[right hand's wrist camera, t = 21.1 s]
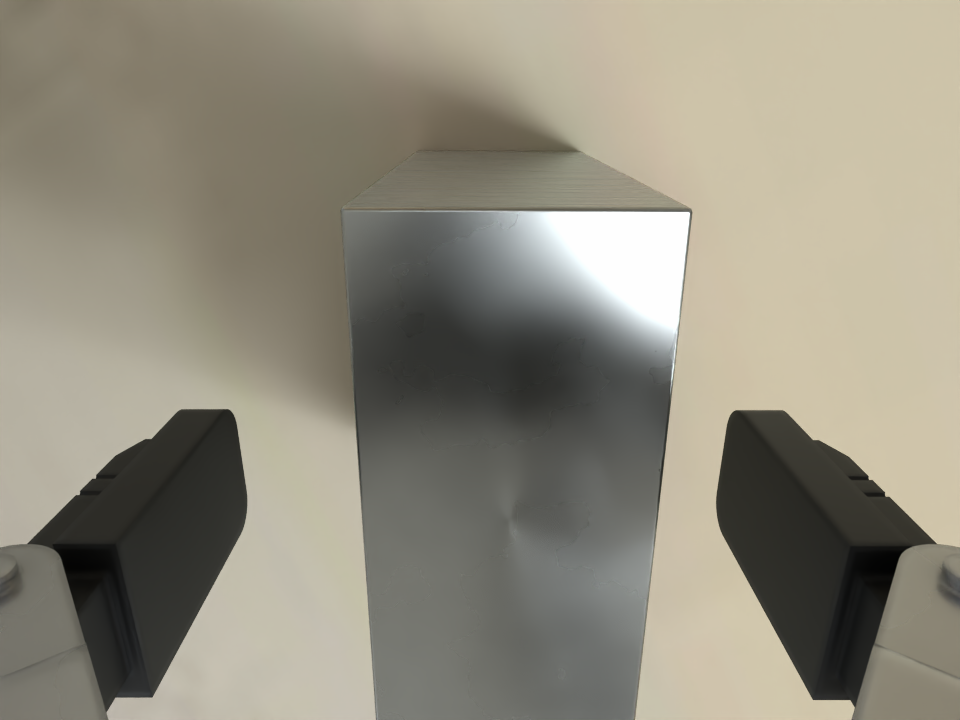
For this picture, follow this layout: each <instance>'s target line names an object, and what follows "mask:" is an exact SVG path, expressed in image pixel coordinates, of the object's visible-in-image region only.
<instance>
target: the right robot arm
mask: <svg viewBox="0 0 960 720" xmlns="http://www.w3.org/2000/svg"><path fill="white" fill-rule="evenodd" d="M868 477H869V476H868V475H867V474H866V473H865V472H864V471H863V470H862V469H861V468H860V467H859V466H858V465H857V464H856V463H855V462H854V461H853V460H852V459H851V458H849V457H848V456H846V455H845V454H843V453H841V452H839V451H837V450H835V449H834V448H832V447H830V446H828V445H826V444H825V443H823V442H821V441H819V440H812V439H811V438H810V437H809V436H808V435H807V433H806V432H805V431H804V430H803V429H802V428H801V427H800V426H799V425H798V424H797V423H796V422H795V421H794V420H793V419H792V418H791V417H790V416H789V415H788V414H787V413H786V412H785V411H783V410H736V411H734V412H733V413H732V414H731V415H730V417H729V420H728V424H727V429H726V436H725V442H724V449H723V456H722V462H721V469H720V476H719V482H718V489H717V497H716V509H717V518H718V523H719V527H720V530H721V532H722V534H723V536H724V538H725V540H726V542H727V544H728V546H729V547H730V549H731V551H732V553H733V555H734V557H735V558H736V560H737V562H738V564H739V566H740V567H741V569H742V571H743V573H744V575H745V577H746V578H747V580H748V582H749V584H750V586H751V588H752V589H753V591H754V593H755V595H756V597H757V598H758V600H759V602H760V604H761V606H762V608H763V609H764V611H765V613H766V615H767V617H768V619H769V620H770V622H771V624H772V626H773V628H774V629H775V631H776V633H777V635H778V637H779V639H780V640H781V642H782V644H783V646H784V648H785V650H786V651H787V653H788V655H789V657H790V659H791V660H792V662H793V664H794V666H795V668H796V670H797V671H798V673H799V675H800V677H801V679H802V681H803V682H804V684H805V686H806V688H807V690H808V692H809V693H810V695H811V697H812V699H813V700H851V702H852V703H853V705H854V707H855V710H854V713H853V717H852V720H960V548H959V547H954V546H949V545H940V544H936V543H935V542H934V541H933V540H932V539H931V538H930V537H929V536H928V535H927V534H926V533H925V532H924V531H923V530H922V529H921V528H920V527H919V526H918V525H917V524H916V523H915V522H914V521H913V520H912V519H911V518H910V517H909V516H908V515H907V514H906V513H905V512H904V511H903V510H902V509H901V508H900V507H899V506H898V505H897V504H896V503H895V502H894V501H893V500H892V499H891V498H890V497H885V492H884V491H883V490H882V489H881V488H880V487H879V486H878V485H877V484H876V483H875V482H874V481H873V480H869V479H868ZM246 513H247V491H246V484H245V477H244V470H243V464H242V457H241V450H240V443H239V437H238V430H237V424H236V420H235V417H234V415H233V413H232V412H231V411H230V410H228V409H182V410H179V411H178V412H177V413H176V414H175V415H174V416H173V417H172V418H171V419H170V420H169V421H168V422H167V423H166V424H165V425H164V426H163V428H162V429H161V430H160V431H159V432H158V433H157V434H156V435H155V436H154V437H153V438H152V439H145V440H143V441H141V442H139V443H138V444H136V445H134V446H132V447H130V448H129V449H127V450H125V451H123V452H121V453H120V454H118V455H116V456H115V457H114V458H113V459H112V460H111V461H110V462H109V463H108V464H107V465H106V466H105V467H104V468H103V469H102V470H101V471H100V472H99V473H98V474H97V475H96V479H92V480H91V481H90V482H89V483H88V484H87V485H86V486H85V487H84V488H83V489H82V490H81V491H80V495H76V496H75V497H74V498H73V499H72V500H71V501H70V502H69V503H68V504H67V505H66V506H65V507H64V508H63V509H62V510H61V511H60V512H59V513H58V514H57V515H56V516H55V517H54V518H53V519H52V520H51V521H50V522H49V523H48V524H47V525H46V526H45V527H44V528H43V529H42V530H41V531H40V532H39V533H38V534H37V535H36V536H35V537H34V538H33V539H32V540H31V541H30V542H29V543H28V544H20V545H11V546H6V547H1V548H0V720H108V717H107V713H106V712H107V711H108V709H109V707H110V706H111V704H112V702H113V701H114V699H115V697H153V695H154V693H155V691H156V690H157V688H158V686H159V684H160V682H161V680H162V679H163V677H164V675H165V673H166V671H167V669H168V667H169V666H170V664H171V662H172V660H173V658H174V656H175V655H176V653H177V651H178V649H179V647H180V645H181V643H182V642H183V640H184V638H185V636H186V634H187V632H188V631H189V629H190V627H191V625H192V623H193V621H194V619H195V618H196V616H197V614H198V612H199V610H200V608H201V607H202V605H203V603H204V601H205V599H206V597H207V595H208V594H209V592H210V590H211V588H212V586H213V584H214V583H215V581H216V579H217V577H218V575H219V573H220V571H221V570H222V568H223V566H224V564H225V562H226V560H227V559H228V557H229V555H230V553H231V551H232V549H233V547H234V546H235V544H236V542H237V540H238V538H239V536H240V535H241V532H242V530H243V527H244V524H245V519H246Z"/></svg>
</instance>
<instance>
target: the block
mask: <svg viewBox="0 0 960 720" xmlns="http://www.w3.org/2000/svg"><path fill="white" fill-rule="evenodd" d="M691 220H692V209H691V208H689V207H687V206H685V205H683V204H681V203H679V202H677V201H675V200H673V199H671V198H669V197H668V196H666V195H664V194H662V193H660V192H658V191H656V190H654V189H652V188H650V187H648V186H646V185H644V184H642V183H641V182H639V181H637V180H635V179H633V178H631V177H629V176H627V175H625V174H623V173H621V172H619V171H617V170H615V169H614V168H612V167H610V166H608V165H606V164H604V163H602V162H600V161H598V160H596V159H594V158H592V157H590V156H588V155H586V154H585V153H583V152H570V151H417V152H415V153H414V154H413V155H411V156H410V157H409V158H407V159H406V160H405V161H403V162H402V163H401V164H399V165H398V166H397V167H395V168H394V169H393V170H391V171H390V172H389V173H387V174H386V175H385V176H383V177H382V178H381V179H379V180H378V181H377V182H375V183H374V184H373V185H371V186H370V187H369V188H367V189H366V190H365V191H363V192H362V193H361V194H359V195H358V196H357V197H355V198H354V199H353V200H351V201H350V202H349V203H347V204H346V205H345V206H343V207H342V208H341V223H342V237H343V252H344V266H345V280H346V295H347V309H348V324H349V338H350V352H351V367H352V381H353V395H354V410H355V424H356V438H357V453H358V467H359V481H360V496H361V510H362V525H363V539H364V553H365V568H366V582H367V596H368V611H369V625H370V639H371V654H372V668H373V682H374V697H375V711H376V720H635V715H636V706H637V697H638V688H639V680H640V671H641V662H642V653H643V644H644V635H645V627H646V618H647V609H648V600H649V591H650V582H651V574H652V565H653V556H654V547H655V538H656V529H657V521H658V512H659V503H660V494H661V485H662V476H663V468H664V459H665V450H666V441H667V432H668V423H669V415H670V406H671V397H672V388H673V379H674V370H675V361H676V353H677V344H678V335H679V326H680V317H681V308H682V300H683V291H684V282H685V273H686V264H687V255H688V247H689V238H690V229H691Z"/></svg>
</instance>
